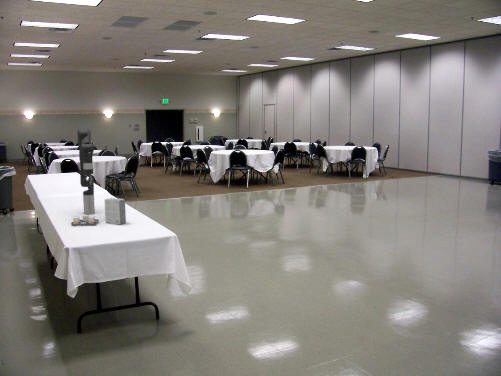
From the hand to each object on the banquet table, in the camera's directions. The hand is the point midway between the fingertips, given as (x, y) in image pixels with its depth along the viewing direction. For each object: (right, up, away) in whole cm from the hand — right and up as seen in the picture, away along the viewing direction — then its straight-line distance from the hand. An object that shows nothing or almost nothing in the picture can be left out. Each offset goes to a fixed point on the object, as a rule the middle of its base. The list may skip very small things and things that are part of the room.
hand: (89, 189), depth 406 cm
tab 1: (-6, -27, -12) cm, 31 cm away
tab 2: (-1, -26, -5) cm, 27 cm away
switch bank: (-1, -29, -8) cm, 30 cm away
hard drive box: (+23, -28, -3) cm, 36 cm away
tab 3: (+5, -27, -11) cm, 30 cm away
